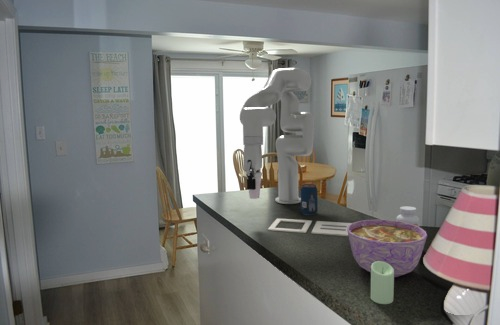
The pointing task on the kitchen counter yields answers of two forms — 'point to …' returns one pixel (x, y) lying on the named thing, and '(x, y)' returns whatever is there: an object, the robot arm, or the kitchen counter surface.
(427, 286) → the kitchen counter surface
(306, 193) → the soda can
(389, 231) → the bowl of food
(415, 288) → the kitchen counter surface
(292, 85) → the robot arm
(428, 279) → the kitchen counter surface
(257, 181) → the smoothie
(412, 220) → the supplement bottle
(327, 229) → the pads
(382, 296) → the candle
